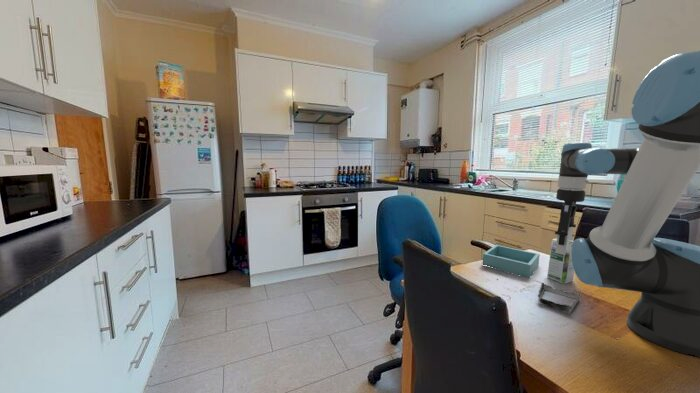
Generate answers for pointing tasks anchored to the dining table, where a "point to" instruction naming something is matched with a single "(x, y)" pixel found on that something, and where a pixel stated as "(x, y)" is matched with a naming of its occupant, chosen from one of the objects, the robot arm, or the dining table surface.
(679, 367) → the dining table surface
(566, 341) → the dining table surface
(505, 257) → the box
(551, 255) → the syrup box
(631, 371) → the dining table surface
